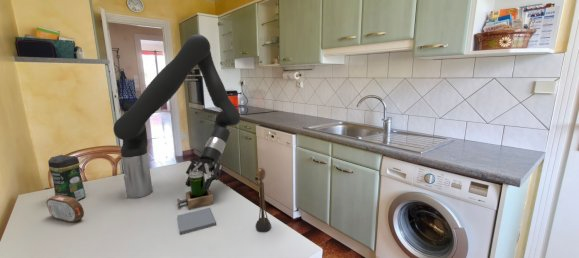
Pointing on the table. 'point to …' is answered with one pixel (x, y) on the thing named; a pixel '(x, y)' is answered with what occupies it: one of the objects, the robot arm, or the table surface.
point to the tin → (65, 208)
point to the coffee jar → (67, 176)
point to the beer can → (197, 184)
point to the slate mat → (195, 220)
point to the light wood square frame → (197, 200)
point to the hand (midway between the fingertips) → (196, 187)
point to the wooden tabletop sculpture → (262, 204)
